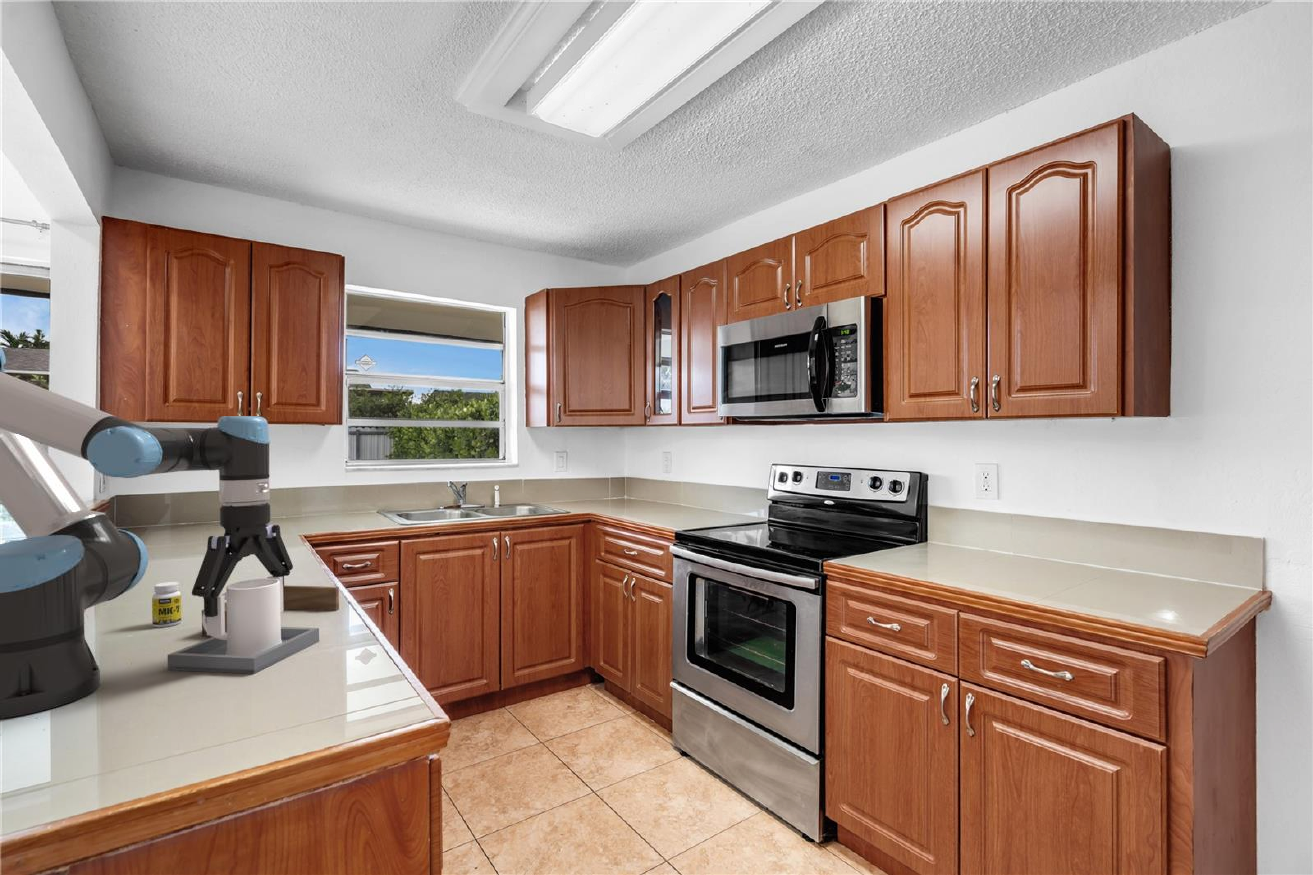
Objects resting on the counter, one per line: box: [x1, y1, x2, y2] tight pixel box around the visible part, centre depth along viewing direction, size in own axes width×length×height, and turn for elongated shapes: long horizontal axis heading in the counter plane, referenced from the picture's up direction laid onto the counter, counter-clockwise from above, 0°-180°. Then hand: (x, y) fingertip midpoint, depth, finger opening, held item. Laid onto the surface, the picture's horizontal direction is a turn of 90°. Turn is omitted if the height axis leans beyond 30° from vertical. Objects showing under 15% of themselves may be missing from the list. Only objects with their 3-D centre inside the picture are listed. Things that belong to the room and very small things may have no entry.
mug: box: [201, 578, 282, 656], centre depth 112 cm, size 12×8×12 cm
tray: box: [167, 626, 320, 675], centre depth 113 cm, size 16×16×2 cm
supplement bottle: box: [151, 581, 182, 628], centre depth 131 cm, size 5×5×8 cm
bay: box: [201, 585, 340, 637], centre depth 132 cm, size 20×15×5 cm
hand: (247, 622), depth 113 cm, fingers open, 13 cm apart
